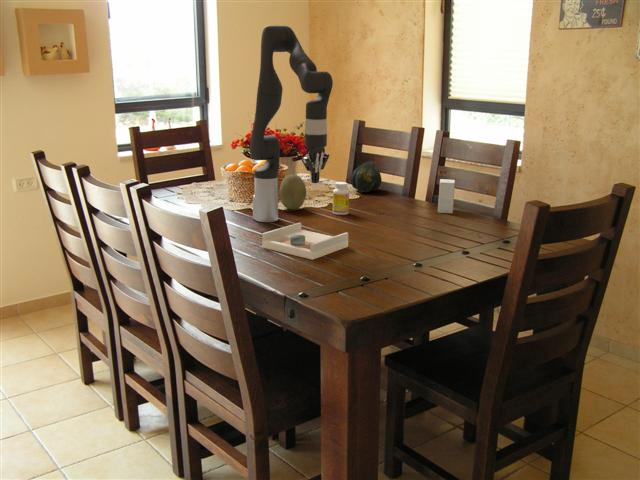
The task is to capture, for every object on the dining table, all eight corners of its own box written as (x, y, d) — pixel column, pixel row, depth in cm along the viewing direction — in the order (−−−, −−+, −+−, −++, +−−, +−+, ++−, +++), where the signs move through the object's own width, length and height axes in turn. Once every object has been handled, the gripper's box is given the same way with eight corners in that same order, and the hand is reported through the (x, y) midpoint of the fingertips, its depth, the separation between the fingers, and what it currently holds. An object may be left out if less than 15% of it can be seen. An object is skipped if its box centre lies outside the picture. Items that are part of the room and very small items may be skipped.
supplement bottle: (347, 215, 292) (347, 185, 288) (331, 214, 293) (331, 184, 289) (349, 212, 298) (350, 181, 294) (334, 211, 299) (334, 181, 296)
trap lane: (262, 247, 246) (262, 233, 244) (299, 235, 261) (299, 222, 260) (312, 259, 233) (312, 244, 232) (348, 246, 248) (348, 232, 247)
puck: (287, 244, 241) (287, 236, 241) (296, 240, 245) (296, 233, 244) (299, 246, 238) (299, 239, 238) (308, 243, 242) (308, 236, 242)
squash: (343, 181, 333) (365, 158, 329) (347, 177, 348) (368, 155, 343) (365, 202, 334) (387, 180, 330) (368, 197, 348) (389, 175, 344)
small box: (452, 213, 298) (455, 183, 295) (437, 212, 299) (439, 182, 296) (453, 209, 306) (455, 179, 302) (438, 208, 307) (439, 178, 303)
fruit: (311, 208, 303) (311, 173, 299) (296, 213, 294) (296, 177, 290) (289, 205, 309) (289, 170, 305) (273, 209, 300) (273, 174, 296)
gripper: (319, 129, 247) (318, 178, 252) (294, 133, 237) (294, 184, 242) (336, 131, 243) (335, 181, 248) (312, 135, 233) (311, 187, 238)
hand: (315, 182), depth 245 cm, fingers closed
